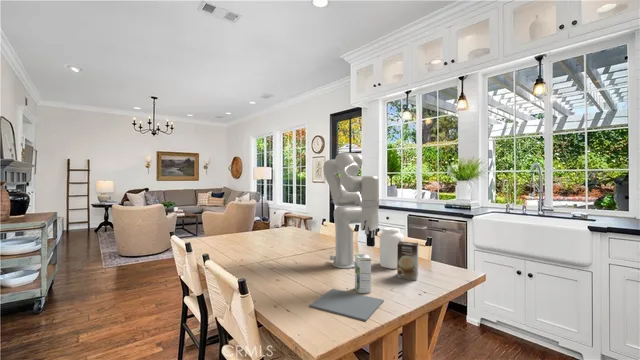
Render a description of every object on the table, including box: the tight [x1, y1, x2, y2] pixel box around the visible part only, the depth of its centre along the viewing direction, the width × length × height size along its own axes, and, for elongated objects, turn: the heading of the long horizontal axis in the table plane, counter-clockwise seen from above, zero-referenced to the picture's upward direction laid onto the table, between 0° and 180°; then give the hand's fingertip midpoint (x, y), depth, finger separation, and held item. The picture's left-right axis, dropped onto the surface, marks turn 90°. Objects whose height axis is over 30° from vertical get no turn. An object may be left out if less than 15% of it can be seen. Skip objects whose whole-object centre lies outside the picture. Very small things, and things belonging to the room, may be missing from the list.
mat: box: [309, 288, 385, 322], centre depth 110 cm, size 22×18×1 cm
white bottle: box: [379, 226, 405, 270], centre depth 157 cm, size 12×12×20 cm
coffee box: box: [396, 241, 419, 281], centre depth 139 cm, size 9×6×16 cm
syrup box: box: [354, 253, 372, 294], centre depth 123 cm, size 6×6×14 cm
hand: (370, 245), depth 130 cm, fingers closed
